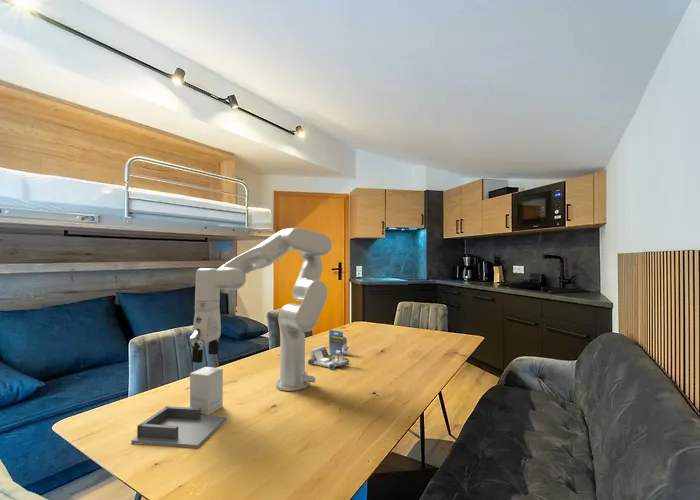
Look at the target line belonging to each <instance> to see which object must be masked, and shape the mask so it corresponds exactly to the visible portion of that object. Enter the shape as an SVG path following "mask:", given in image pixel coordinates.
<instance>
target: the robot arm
mask: <svg viewBox="0 0 700 500" xmlns="http://www.w3.org/2000/svg"><path fill="white" fill-rule="evenodd" d="M332 244H333V243H332V240H331V239H330V237H329V236H328V235H326V234H324V233H320V232H317V231H314V230H313V231H312V230H309V229H306V228H302V227H301V228H300V227H287V228H283V229H281V230H279V231H277V232H276V233H274V234H272V235H271V236H270V237H268V238H267V239H266V240H264V241H262V242H261V243H259V244H257V245H256V246H255V247H252V248H251V249H248V250H247V251H245V252H243V253H241V254H239V255H237V256H235V257H234V258H232V259H231V260H229V261H227V262H226V263H225V264H222V265H221V266H220V267H218V268H215V267H211V268H210V267H201V268H198V269H196V272H195V288H194V289H195V291H194V317H193V324H192V335H190V337H189V343H190V347H191V350H192V351H191V353H192V354H191V362H192V363H197V364H199V363H200V364H201V363H203V357H204V355H203V354H204V353H203V352H204V350H203V346H204V343H207V344H208V355H218V354H219V342H220V337H221V333H222V331H221V330H222V325H221V322H222V321H221V311H220V304H221V303H220V302H221V301H220V300H221V299H220V298H221V297H220V295H221V293H220V292H221V290H230V291H235V290H236V291H237V290H239V289H241V288H242V287H244V286H245V284H246V282H247V281H246V280H247V277H246V275H247V274H249V273H251V272H254V271H257V270H260V269H264V268H267V267H269V266H271V265H272V264H274V263H275V262H276V261H278V260H279V259H281V258H283V256H284V255H286V254H288V252H291V251H299V254H300V256H301V260H302V265H301V268H300V271H299V273H298V276H297V278H296V280H295V282H294V285H293V287H292V291H291V295H292V297H293V299H294V300H295V301H298V302H301V303H300V304H298V303H286V304H284V305H283V306H282V307H281V308H280V310H279V312H278V315H277V316H278V317H277V318H278V326H279V334H280V335H279V337H280V339H279V340H280V343H279V344H280V346H279V348H280V357H279V359H280V360H279V361H280V362H279V366H280V367H279V379H278V380H277V381H276V382H275V387H276V388H277V389H278V390H280V391H284V392H285V391H286V392H293V391H294V392H296V391H300V390H303V389H306V388H307V387H308V386H309V384H310V383H311V384H312V383H314V384H315V383H316V378H317V377H315V376H314V375H309V374H308V372H307V371H306V335H305V333H308V332H311V331H312V330H313V329H314V328H315V327H316V326H317V323H318V322H319V319H320V316H321V313H322V312H323V309H324V306H325V304H326V301H327V298H328V288H327V285H326V284H325V283H324V282H323V281H322V280H321V276H322V273H323V267H324V264H323V260H322V257H321V256H323V257H324V256H326V255H328V254H329V253H330V252H331V250H332V247H333V245H332Z"/></svg>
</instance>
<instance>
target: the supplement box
mask: <svg viewBox="0 0 700 500" xmlns="http://www.w3.org/2000/svg"><path fill="white" fill-rule="evenodd" d="M223 374H224V373H223V368H221V367H219V368H218V367H214V366H213V367H211V366H204V367H202V368H199V369H197V370H195V371H192V372H190V373H189V408H201V415H205V416H210V415H211V414H212V413H214V412H215V411H217V410H219V409H220V408H222V407H223V402H224V401H223V400H224V397H223V396H224V395H223V391H224V390H223V389H224V388H223V387H224V386H223V383H224V382H223V381H224V379H223V378H224V377H223Z"/></svg>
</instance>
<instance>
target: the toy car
mask: <svg viewBox="0 0 700 500" xmlns="http://www.w3.org/2000/svg"><path fill="white" fill-rule="evenodd" d="M342 352H343V356H342V358H340V357H339V356H340V355H339V354H340V353H341V351H338V350H337V351H336V353H338V355H337V358H336V357H335V356H334V354H330V355H329V351H328V349H327V346H326V345H321V346H319V347H316V348H313V349H311V350H310V359H308V360H307V364H308V365H309V366H313V365H316V366H317V365H318V366H322V367H326V368H329V370H330V371H335V370H336V368H337V367H341V366H344V365H349V363H350V360H349V358H347V357H345V355H344V353H347V354H348V353H350V352H351V350H350V348H349V346H348V345H347V346H345V345H344V346H343V348H342ZM344 357H345V358H344Z"/></svg>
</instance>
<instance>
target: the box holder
mask: <svg viewBox="0 0 700 500" xmlns="http://www.w3.org/2000/svg"><path fill="white" fill-rule="evenodd" d="M227 420H228V417H227V416H220V415H219V416H217V415H205V414H201V408H190V406H189V407H186V406H185V407H184V406H170V405H166V406H165V407H163V408H162V409H161V410H159V411H158V412H156V413H154V414H153V415H151V416H150V417H148V418H147V419H145V420H144V421H142V422H141V423H139V424H137V426H136V428H137V429H136V431H137V434H136V436H135V437H133V438H132V439H131V440H130V441H131V442H133V443H132V444H135V443H141V444H140V445H149V444H152V446H164V447H176V448H177V447H178V448H179V447H180V448H190V449H192V448H193V449H199V448H200V447H201V446H202V444H204V443H205V442H206V441H207V440H208V439H209V438H210V437H211V436H212V435H213V434H214V433H215V432H216V431H217V430H218V429H219V428H220V427H221V426H222V425H223V424H224V423H225V422H226V421H227ZM131 442H130V443H131ZM142 443H143V444H142Z"/></svg>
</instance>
